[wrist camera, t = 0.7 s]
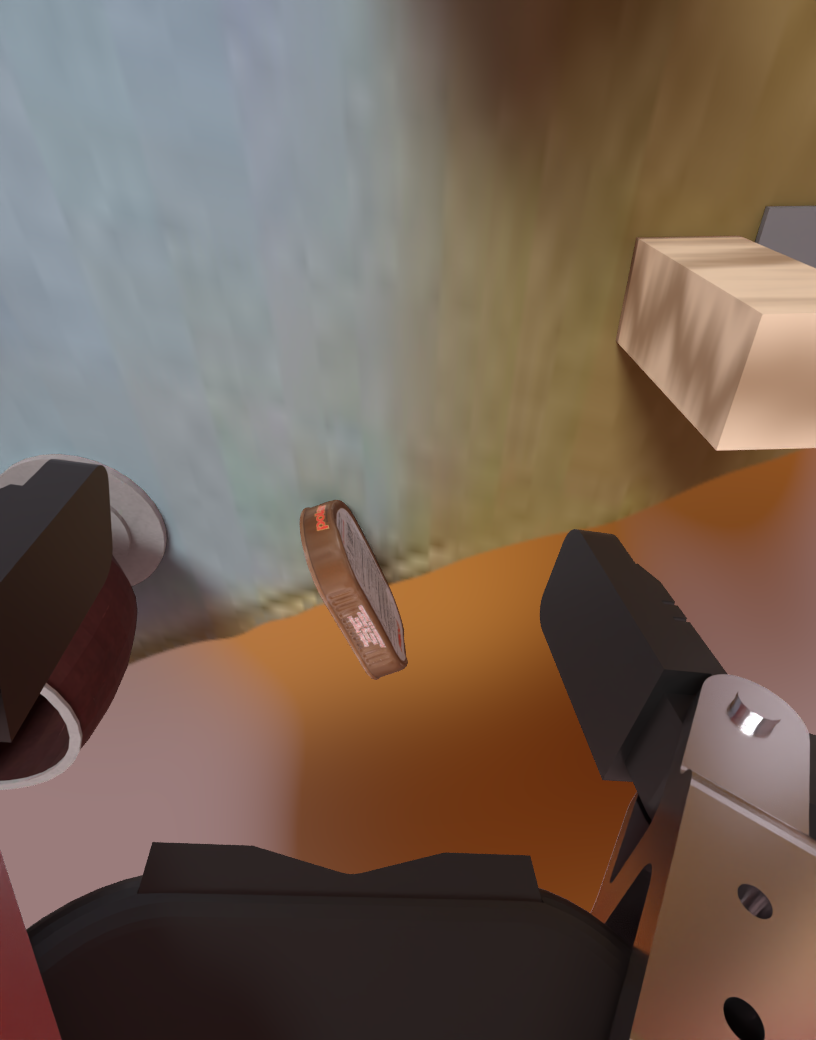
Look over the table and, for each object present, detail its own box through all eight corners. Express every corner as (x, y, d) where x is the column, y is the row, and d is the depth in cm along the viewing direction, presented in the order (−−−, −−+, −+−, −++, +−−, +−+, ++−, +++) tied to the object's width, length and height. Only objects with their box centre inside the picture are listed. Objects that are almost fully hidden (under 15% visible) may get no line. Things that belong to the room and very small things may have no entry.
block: (636, 237, 34) (762, 313, 23) (739, 235, 34) (915, 310, 23) (615, 340, 38) (716, 450, 27) (709, 338, 38) (848, 447, 27)
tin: (302, 486, 44) (287, 561, 37) (342, 473, 43) (335, 547, 36) (376, 622, 52) (375, 703, 45) (410, 613, 52) (415, 694, 45)
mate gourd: (-13, 412, 39) (-287, 644, 23) (199, 488, 43) (91, 730, 27) (-30, 574, 47) (-243, 831, 31) (150, 625, 51) (44, 876, 35)
